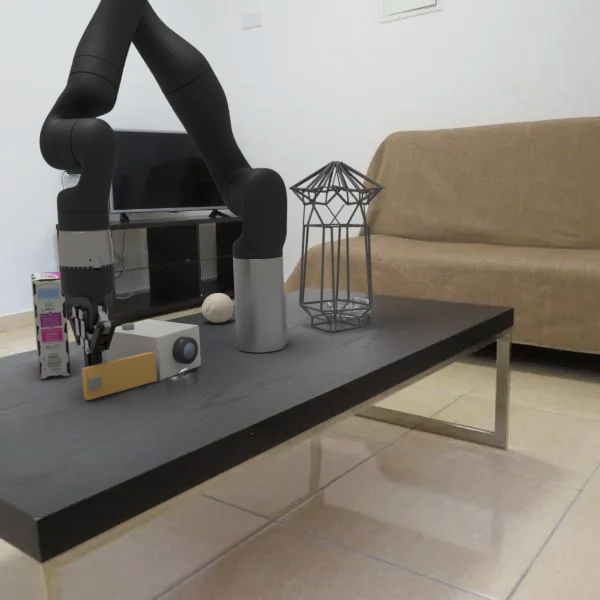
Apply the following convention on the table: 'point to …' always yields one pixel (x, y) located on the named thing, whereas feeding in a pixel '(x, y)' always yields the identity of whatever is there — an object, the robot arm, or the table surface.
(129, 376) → the side door
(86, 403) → the table surface
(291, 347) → the table surface
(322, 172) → the geometric lantern
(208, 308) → the cream round ball
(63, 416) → the table surface
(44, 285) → the candy bar box
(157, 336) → the block
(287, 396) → the table surface
